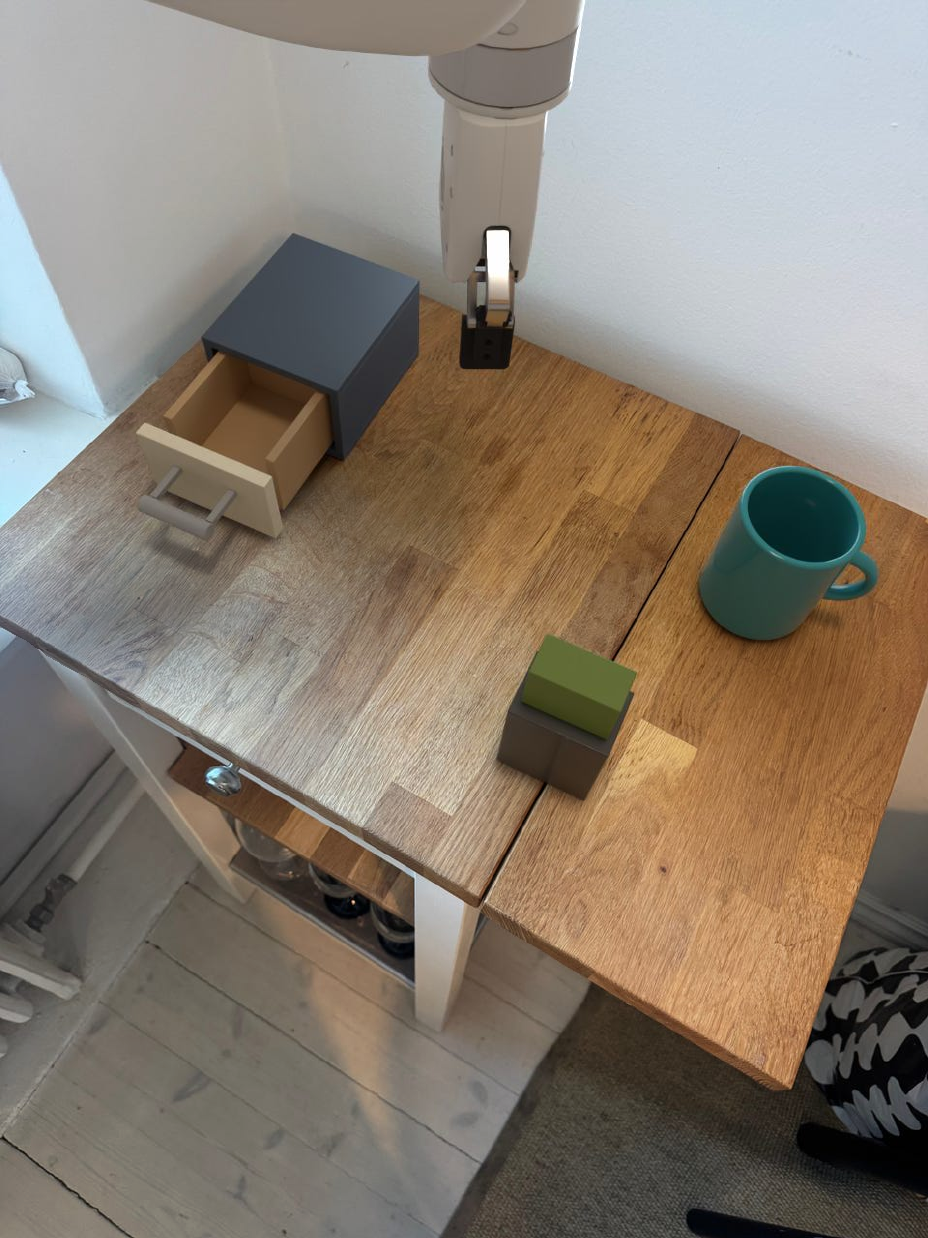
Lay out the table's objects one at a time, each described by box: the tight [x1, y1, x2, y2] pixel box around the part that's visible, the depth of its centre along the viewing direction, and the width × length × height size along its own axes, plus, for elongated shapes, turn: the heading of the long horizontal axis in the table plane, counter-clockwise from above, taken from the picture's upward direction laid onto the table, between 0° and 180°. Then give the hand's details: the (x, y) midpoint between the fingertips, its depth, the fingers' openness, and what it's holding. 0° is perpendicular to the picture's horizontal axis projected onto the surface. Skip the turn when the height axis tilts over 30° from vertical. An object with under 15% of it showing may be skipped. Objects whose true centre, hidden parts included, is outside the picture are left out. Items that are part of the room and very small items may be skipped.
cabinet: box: [200, 232, 421, 461], centre depth 79 cm, size 15×13×9 cm
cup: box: [698, 465, 880, 641], centre depth 68 cm, size 9×12×11 cm
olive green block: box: [521, 633, 638, 739], centre depth 56 cm, size 6×3×4 cm, turn 65°
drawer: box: [135, 351, 334, 542], centre depth 73 cm, size 18×11×7 cm, turn 155°
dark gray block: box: [496, 650, 635, 801], centre depth 62 cm, size 7×5×9 cm
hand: (479, 312), depth 60 cm, fingers open, 9 cm apart
